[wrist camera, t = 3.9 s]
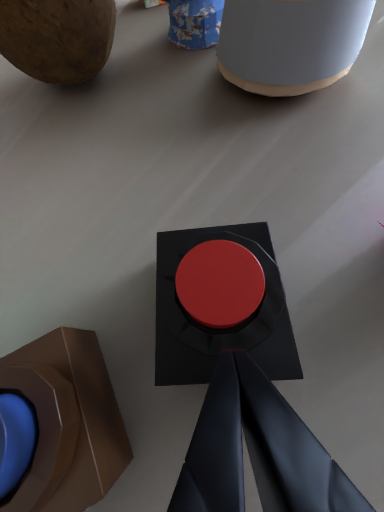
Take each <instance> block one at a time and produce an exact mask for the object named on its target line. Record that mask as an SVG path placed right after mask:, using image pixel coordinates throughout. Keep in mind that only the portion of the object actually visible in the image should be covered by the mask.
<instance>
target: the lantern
mask: <svg viewBox="0 0 384 512" xmlns="http://www.w3.org/2000/svg"><path fill="white" fill-rule="evenodd" d="M161 1H162V2H166V3H170V4H169V16H170V27H169V32H168V38H167V39H168V40H169V42H170V43H171V44H172V45H174V46H176V47H178V48H180V49H188V50H198V49H207V48H210V47H213V46H216V45H218V38H219V32H220V26H221V20H222V13H223V7H224V1H225V0H161Z"/></svg>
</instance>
